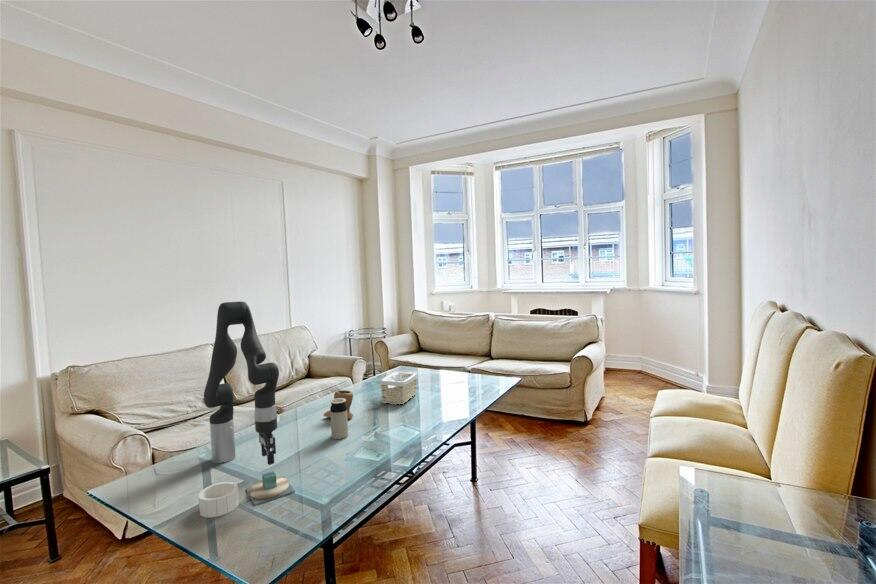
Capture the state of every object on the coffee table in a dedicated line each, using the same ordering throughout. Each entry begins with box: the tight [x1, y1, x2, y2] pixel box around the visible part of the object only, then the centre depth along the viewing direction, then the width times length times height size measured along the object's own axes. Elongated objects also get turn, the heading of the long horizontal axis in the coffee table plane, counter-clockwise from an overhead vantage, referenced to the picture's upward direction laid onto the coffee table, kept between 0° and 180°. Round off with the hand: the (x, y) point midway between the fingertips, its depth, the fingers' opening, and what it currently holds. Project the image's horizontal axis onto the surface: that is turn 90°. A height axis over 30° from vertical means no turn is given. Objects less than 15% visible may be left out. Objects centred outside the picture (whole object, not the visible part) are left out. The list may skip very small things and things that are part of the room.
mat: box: [245, 476, 296, 507], centre depth 158 cm, size 14×14×1 cm
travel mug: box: [329, 398, 349, 440], centre depth 207 cm, size 8×8×18 cm
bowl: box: [197, 481, 240, 519], centre depth 148 cm, size 12×12×6 cm
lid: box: [249, 470, 290, 499], centre depth 158 cm, size 14×14×6 cm
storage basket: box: [379, 371, 418, 405], centre depth 263 cm, size 24×16×15 cm
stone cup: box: [323, 389, 354, 420], centre depth 234 cm, size 15×12×15 cm
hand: (268, 459), depth 157 cm, fingers open, 8 cm apart
